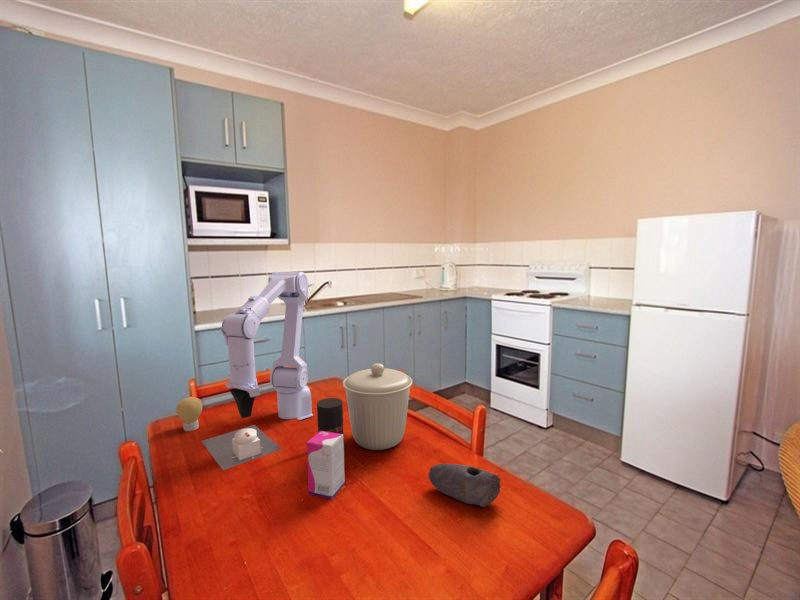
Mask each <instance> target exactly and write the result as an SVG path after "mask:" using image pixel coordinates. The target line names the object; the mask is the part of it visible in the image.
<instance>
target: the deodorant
mask: <svg viewBox="0 0 800 600" xmlns="http://www.w3.org/2000/svg"><path fill="white" fill-rule="evenodd" d="M343 407H344V406H343V400H342V399H340V398H337V397H327V398H322V399H320V400H318V401H317V403H316V411H317V412H316V413H317V414H316V415H317V417H316V419H317V434H318V433H319V432H320V431H325V432H331V433H338V434H343V443H344V444H345V442H344V440H345V439H344V408H343Z"/></svg>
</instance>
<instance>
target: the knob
mask: <svg viewBox="0 0 800 600" xmlns="http://www.w3.org/2000/svg"><path fill="white" fill-rule="evenodd" d="M241 429H242V428H241ZM238 430H239V429H238ZM234 436H235V438H233V439H232V443H233V453H234V454H235V455H236V457H237V458H238V459H239V460H243V459H246V458H249V457H252V456H255V455H257V454H260V453H261V449H260V439H259V438H258V437H257V431H256V430H255V429H252V428H247V429H242V430H239V431H237V432H236V433H235V435H234Z"/></svg>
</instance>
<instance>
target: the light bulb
mask: <svg viewBox="0 0 800 600" xmlns="http://www.w3.org/2000/svg"><path fill="white" fill-rule="evenodd" d="M203 407H204V406H203V402H202V401H201V399H200V398H197V397H194V396H189V397H188V396H187V397H184V398H183V399H181V400H180V401H179V402H178V403H177V405H176V408H175V410H176V411H175V412H176V415H177V417H178V418H179V419H180V420H182V424H183V425H182V426H183V427H182V428H183V430H184V431H185V432H192V431H195V430H197V429H199V427H200V426H199V417H200V416H201V414H202V412H203Z"/></svg>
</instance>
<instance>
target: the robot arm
mask: <svg viewBox="0 0 800 600" xmlns="http://www.w3.org/2000/svg"><path fill="white" fill-rule="evenodd" d="M267 282H268V283H267V285H266V286H265V287H264V288H263V290H262V291H261V292H260V294H259V295H250V296H249V297H248V300H247V301H246V302H245V303H244V304H243V305H241V307H240V308H238V310H237V311H236V312H235V313H230V314H228V315H227V316H225V317H224V318H223V321H222V322H221V327H220V332H221V334H222V336H223V337H224V341H225V344H226V346H227V350H228V351H227V352H228V363H229V365H228V366H229V375H228V376H229V377H228V378H229V382H226V383H225V387H226V388H227V389H229V392H230V394H231V396H232V397H233V399H234V401H235V404H236V407H237V411H238V413H239V415H240V418H242V419H245V418H249V417H251V416H252V413H253V408H254V407H253V406H254V403H255V400H256V397H259V396H260V395H261V394H260V387H259V386H258V379H257V377H256V375H257V374H256V361H255V360H256V357H255V346H254V345H255V343H254V337H255V336H256V335H257V334H258V330H259V326H260V324H261V321H262V320H263V319H264V318H265V317H266V315H268V313H269V312H270V305H271V304H272V303H273V302H274V301H275V300H276V299H277V298H278V299H279V300H280V301H282V302H283V303H284V304H285V311H284V322H283V325H284V326H283V334H282V345H281V355H280V357H279V358H278V359H277V360H275V361H274V362H273V364H272V365H273V366H272V368H271V372H270V374H269V382H270V385H271V387H272V388H274V391H276V394H277V396H276V397H277V410H278V411H277V413H278V415H277V416H278V418H280V419H282V420H292V419H297V420H299V421H302V420H305V419H308V418H311V417H313V416H314V414H313V410H312V405H313V404H312V394H311V389H310V387H309V386H308V385H307V383H308V381H309V375H308V364H307V363H306V361H304V360H303V359H302V358H301V357H300V350H301V349H300V347H301V334H302V325H303V314H304V313H303V311H304V302H306V301H307V300H308V294H309V279H308V277H307V275H306V273H305V272H304V271H299V272H298V271H295V272H294V271H290V272H289V271H273V272H272V273H271V274H270V275H269V276H268V279H267Z"/></svg>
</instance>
